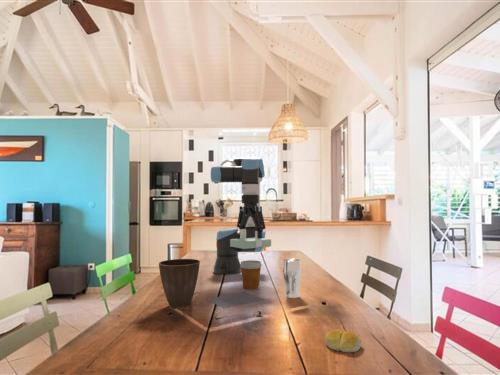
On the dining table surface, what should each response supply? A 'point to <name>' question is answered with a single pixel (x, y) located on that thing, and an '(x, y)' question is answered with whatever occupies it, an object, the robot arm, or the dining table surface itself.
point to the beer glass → (292, 277)
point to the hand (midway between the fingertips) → (250, 245)
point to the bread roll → (343, 341)
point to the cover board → (248, 243)
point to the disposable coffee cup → (250, 274)
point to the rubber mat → (234, 299)
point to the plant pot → (179, 280)
